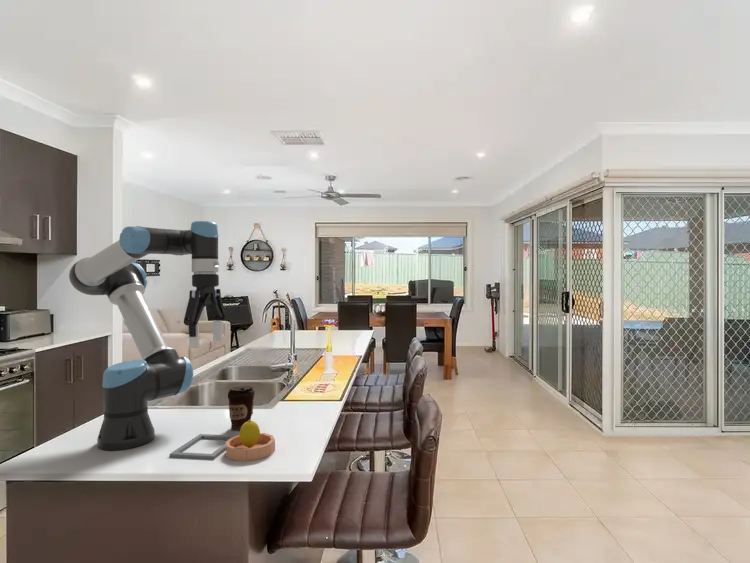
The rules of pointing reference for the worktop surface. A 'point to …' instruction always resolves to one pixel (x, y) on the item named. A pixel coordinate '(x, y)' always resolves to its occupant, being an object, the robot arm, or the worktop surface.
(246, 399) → the coffee cup
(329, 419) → the worktop surface
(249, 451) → the bowl
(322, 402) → the worktop surface
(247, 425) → the lemon
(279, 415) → the worktop surface
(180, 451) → the gray rectangular frame
